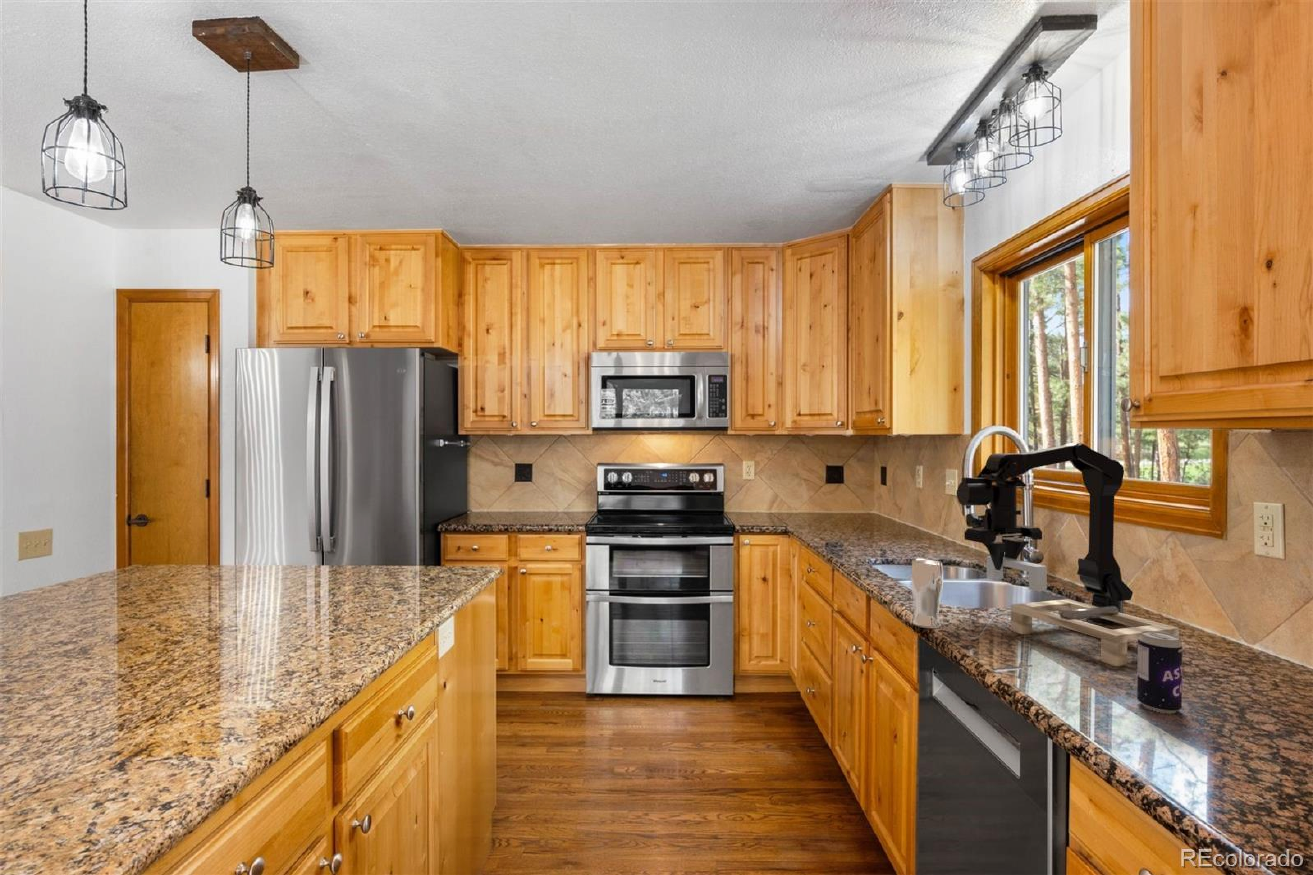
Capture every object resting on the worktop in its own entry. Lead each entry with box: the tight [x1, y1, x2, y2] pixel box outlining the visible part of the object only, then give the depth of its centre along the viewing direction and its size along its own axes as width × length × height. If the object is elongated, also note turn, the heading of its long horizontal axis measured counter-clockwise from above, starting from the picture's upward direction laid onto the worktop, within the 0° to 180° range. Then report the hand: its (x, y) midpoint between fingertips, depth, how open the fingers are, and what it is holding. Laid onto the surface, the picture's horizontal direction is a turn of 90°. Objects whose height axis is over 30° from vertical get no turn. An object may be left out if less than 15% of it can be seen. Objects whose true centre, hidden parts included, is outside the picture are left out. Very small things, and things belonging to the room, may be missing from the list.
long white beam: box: [986, 555, 1048, 592], centre depth 149 cm, size 3×14×6 cm, turn 18°
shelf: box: [1010, 598, 1180, 667], centre depth 137 cm, size 18×24×6 cm
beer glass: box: [910, 558, 944, 629], centre depth 148 cm, size 7×7×15 cm
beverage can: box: [1136, 631, 1183, 715], centre depth 103 cm, size 6×6×12 cm
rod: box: [1060, 606, 1119, 620], centre depth 137 cm, size 15×2×2 cm, turn 109°
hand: (1003, 569), depth 152 cm, fingers closed on long white beam, 3 cm apart
